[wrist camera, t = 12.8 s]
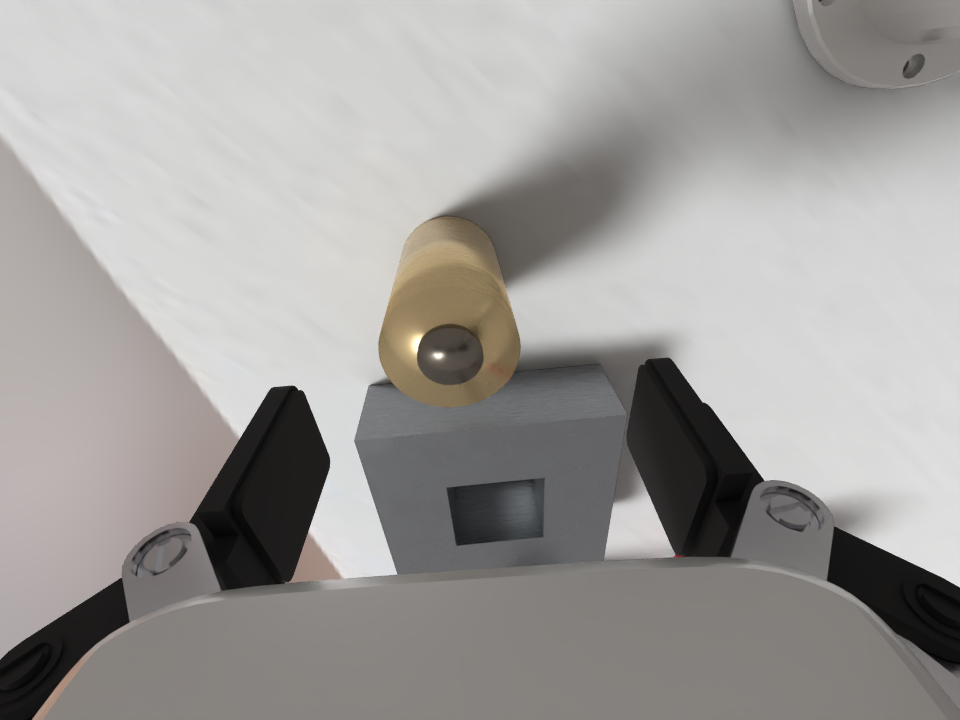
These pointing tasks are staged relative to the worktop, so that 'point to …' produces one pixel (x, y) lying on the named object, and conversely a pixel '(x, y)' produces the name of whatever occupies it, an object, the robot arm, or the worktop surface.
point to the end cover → (449, 317)
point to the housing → (496, 472)
